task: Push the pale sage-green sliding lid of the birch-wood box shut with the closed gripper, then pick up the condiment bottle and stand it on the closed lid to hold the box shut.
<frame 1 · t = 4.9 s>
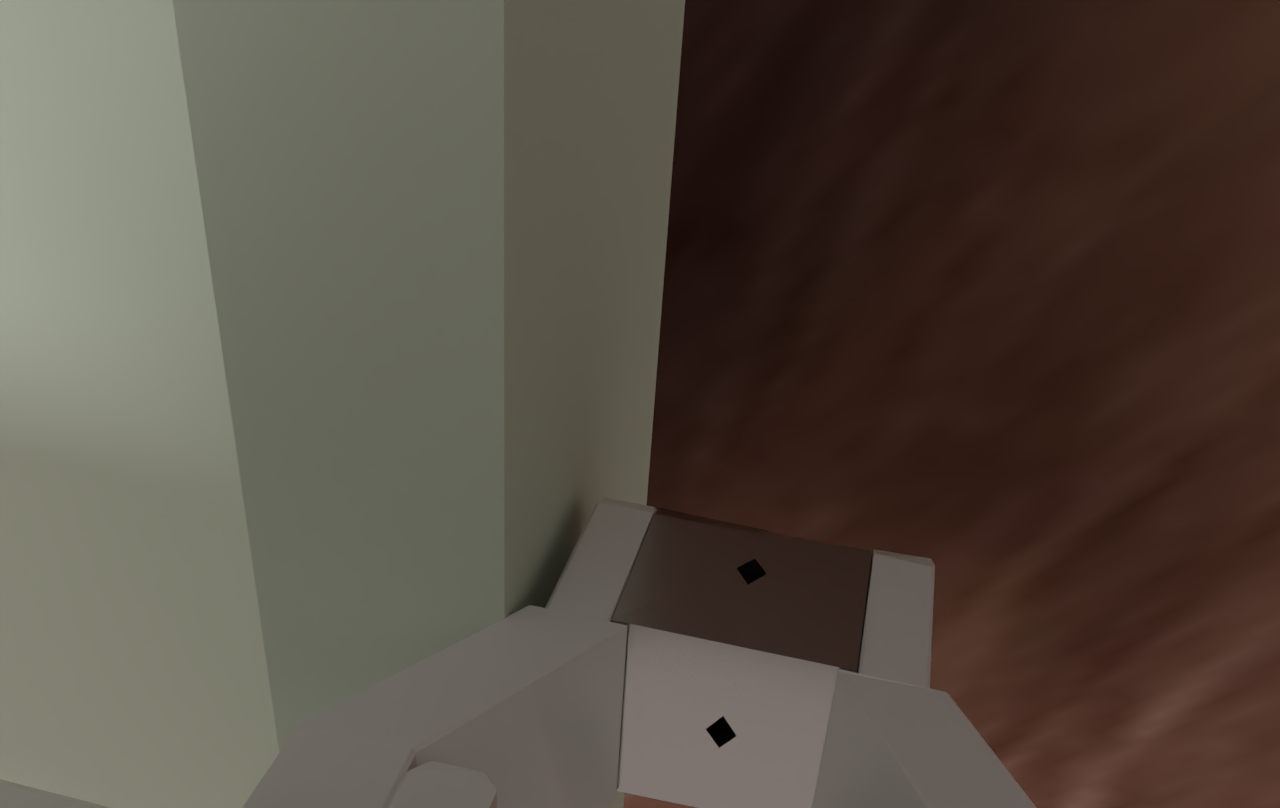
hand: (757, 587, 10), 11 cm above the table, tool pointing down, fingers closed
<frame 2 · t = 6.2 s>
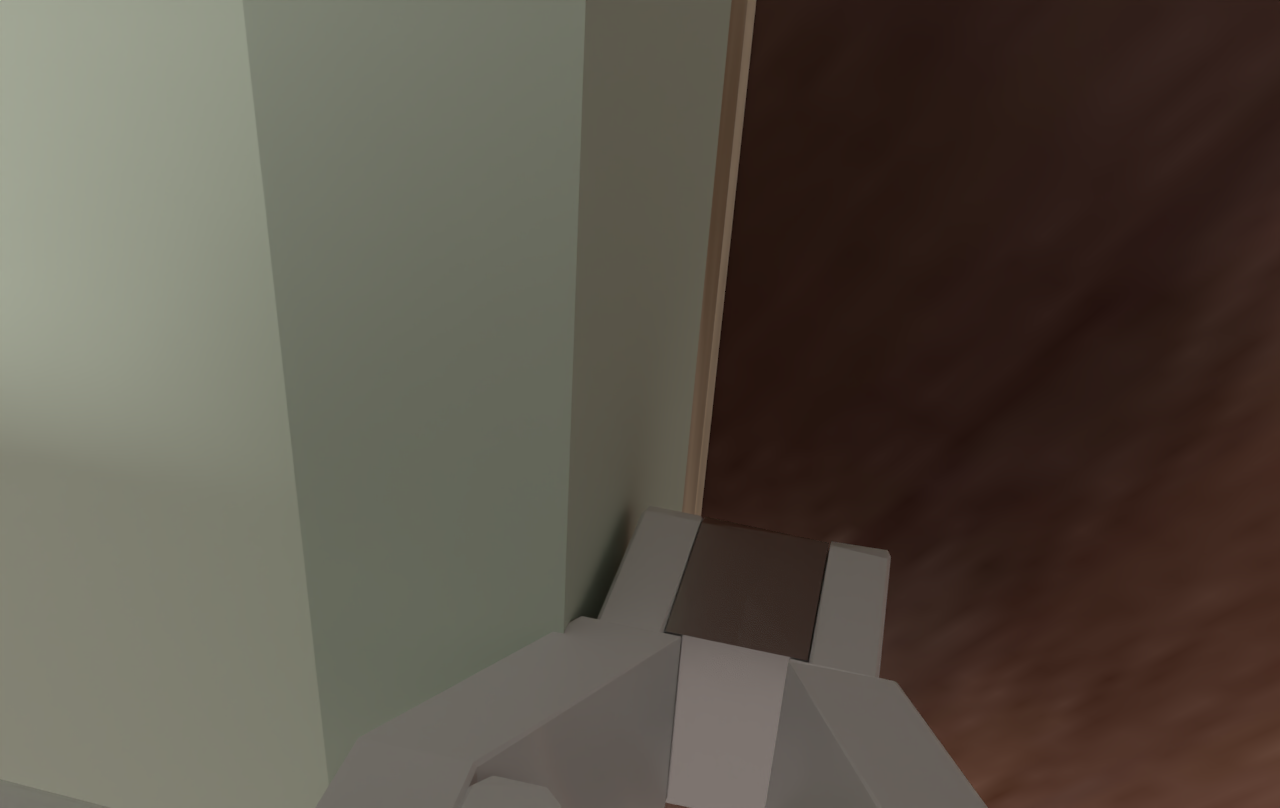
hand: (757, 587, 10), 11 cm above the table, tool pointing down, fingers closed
box: (210, 76, 22), on the table
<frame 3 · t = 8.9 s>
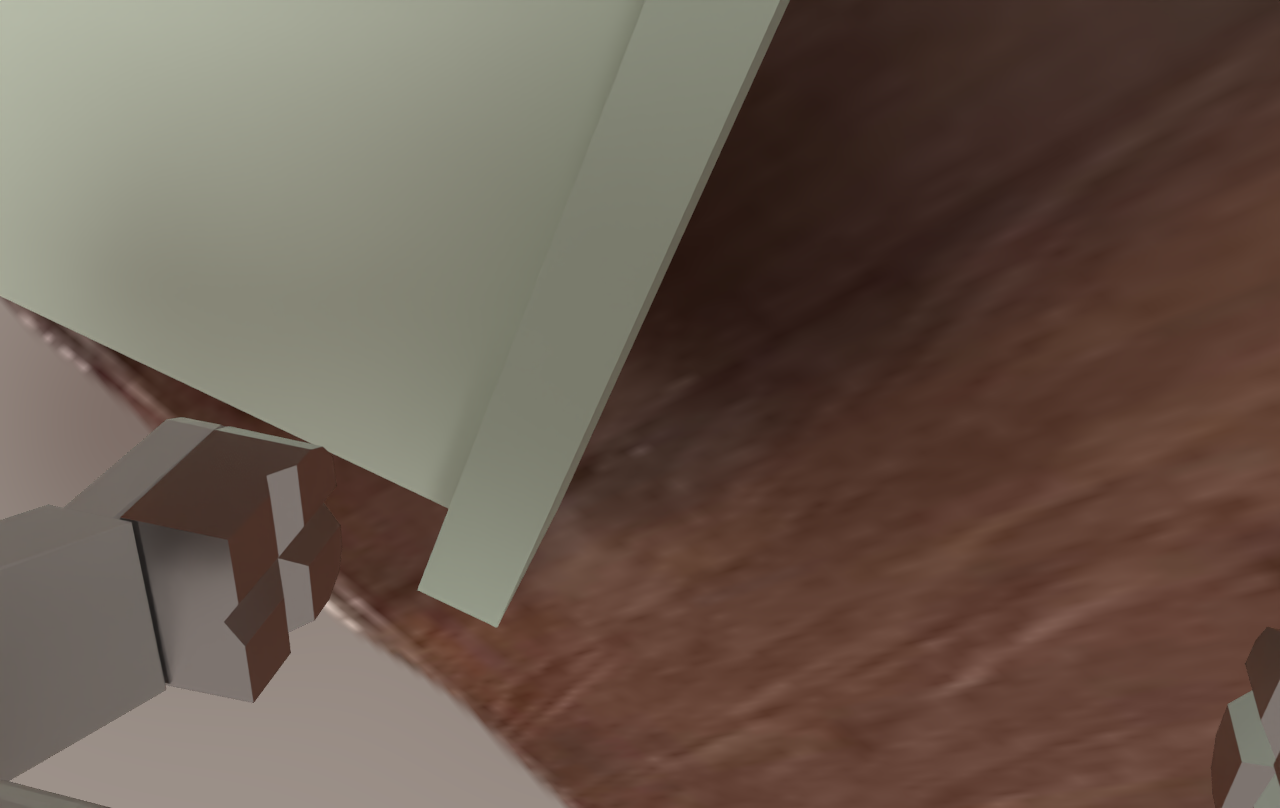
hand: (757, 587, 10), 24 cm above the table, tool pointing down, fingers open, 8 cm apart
lid: (196, 80, 25), point 11 cm above the table, slide at 0.0 cm
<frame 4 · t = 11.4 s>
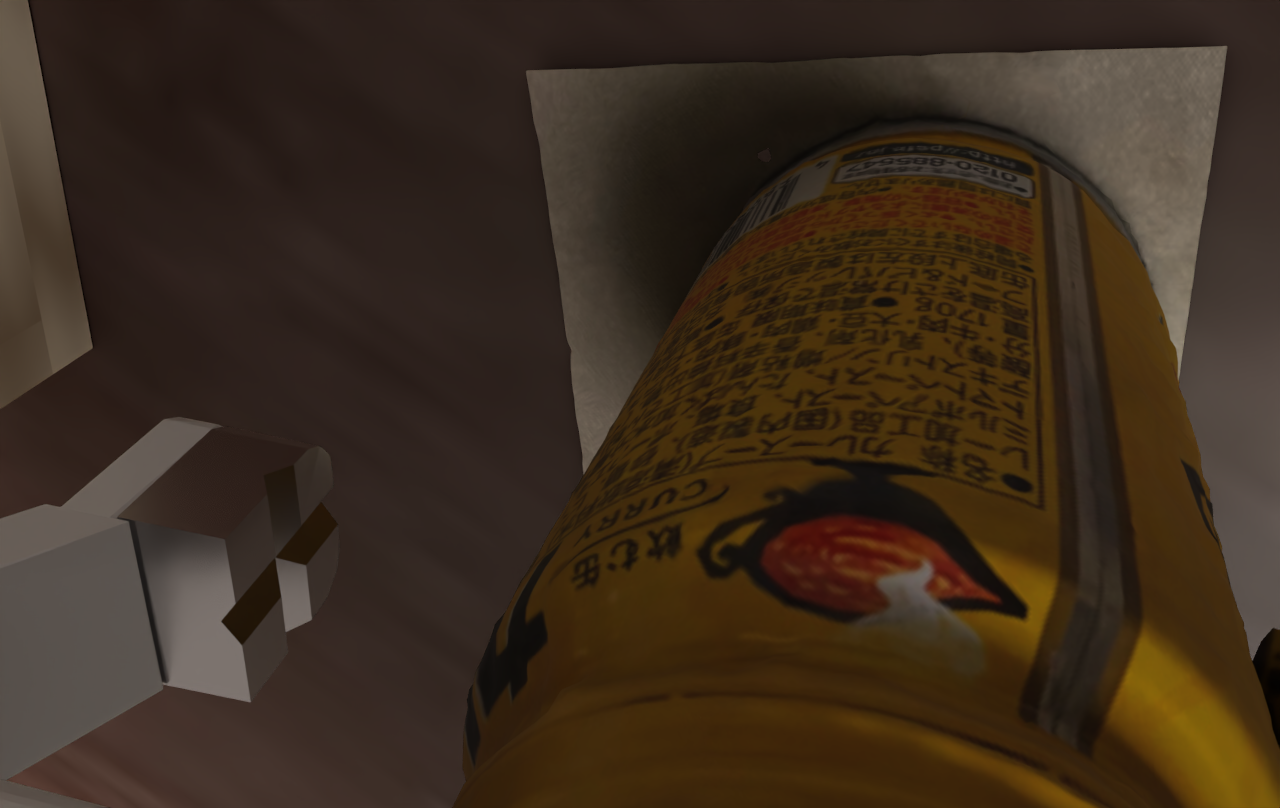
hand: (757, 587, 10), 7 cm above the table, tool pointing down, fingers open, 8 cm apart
condiment: (855, 314, 17), on the table, touching gripper
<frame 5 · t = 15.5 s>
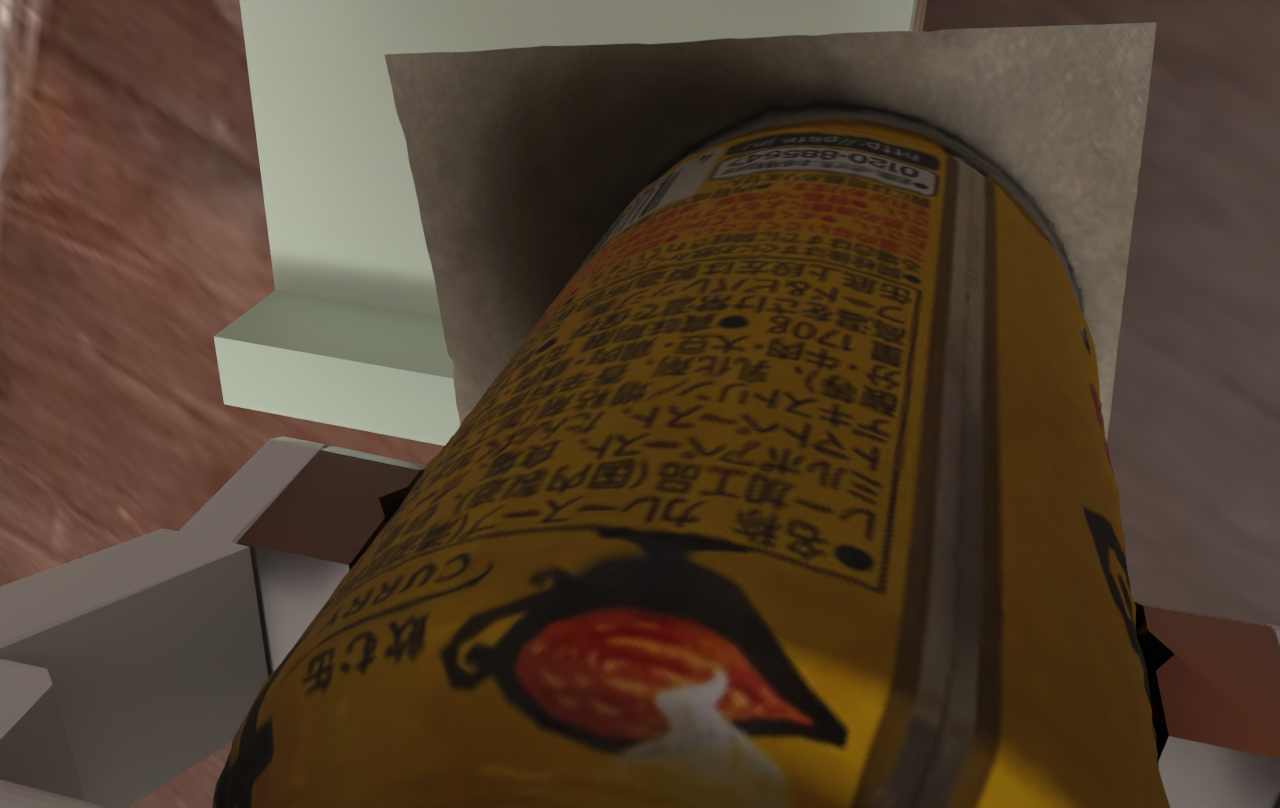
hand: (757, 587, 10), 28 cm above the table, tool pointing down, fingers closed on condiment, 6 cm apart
lid: (543, 4, 26), point 11 cm above the table, slide at 0.0 cm
condiment: (759, 324, 15), point 23 cm above the table, touching gripper
when the fingers open (16 cm above the table, at t = 18.6 s): condiment drops 1 cm, resting on lid.
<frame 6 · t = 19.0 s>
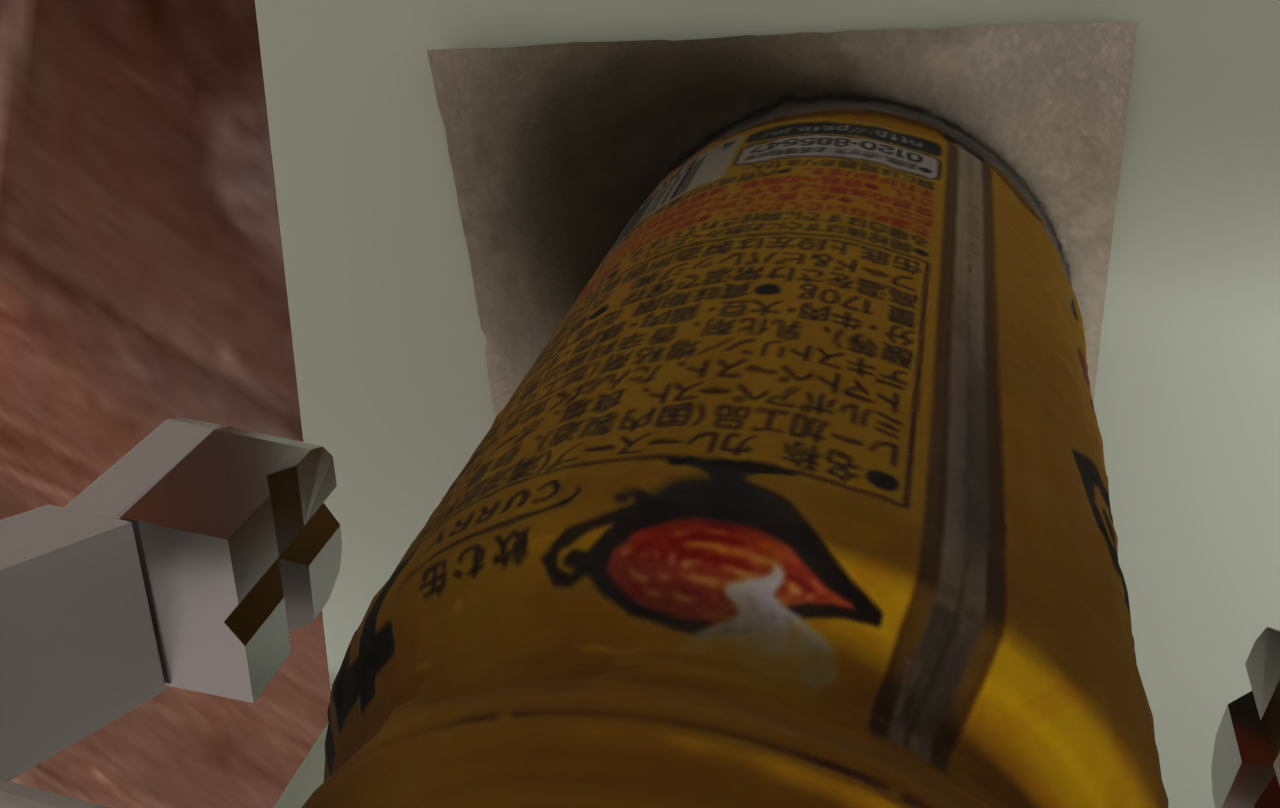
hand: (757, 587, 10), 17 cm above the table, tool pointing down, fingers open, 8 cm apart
lid: (807, 417, 16), point 11 cm above the table, slide at 0.2 cm, touching condiment
condiment: (772, 299, 16), point 10 cm above the table, touching lid
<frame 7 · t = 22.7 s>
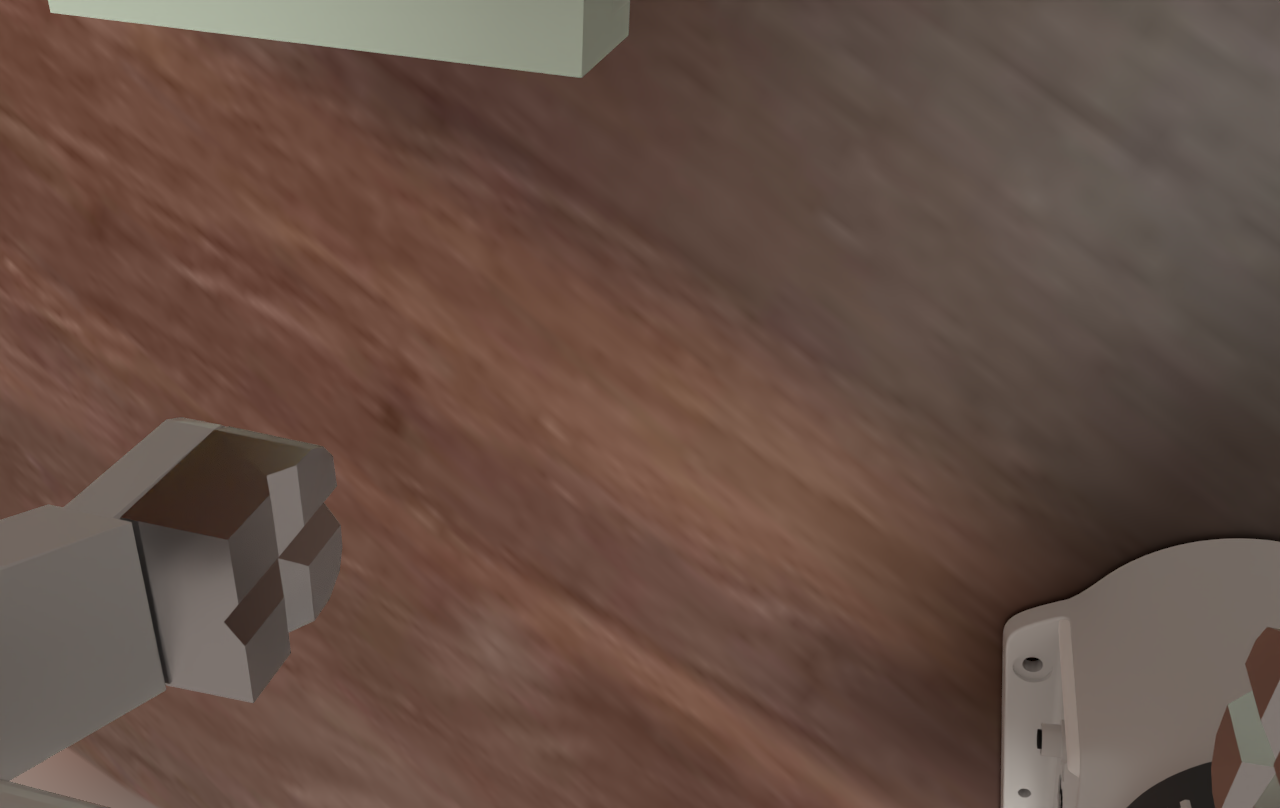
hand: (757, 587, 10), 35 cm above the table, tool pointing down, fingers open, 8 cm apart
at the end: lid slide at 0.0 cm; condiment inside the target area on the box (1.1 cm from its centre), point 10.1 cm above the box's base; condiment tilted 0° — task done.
